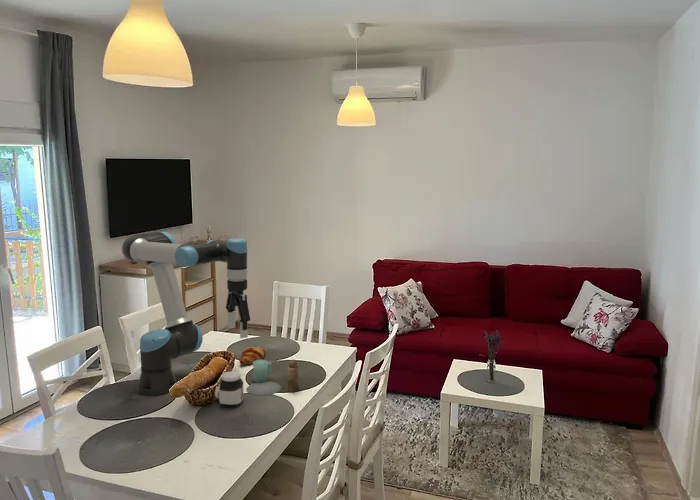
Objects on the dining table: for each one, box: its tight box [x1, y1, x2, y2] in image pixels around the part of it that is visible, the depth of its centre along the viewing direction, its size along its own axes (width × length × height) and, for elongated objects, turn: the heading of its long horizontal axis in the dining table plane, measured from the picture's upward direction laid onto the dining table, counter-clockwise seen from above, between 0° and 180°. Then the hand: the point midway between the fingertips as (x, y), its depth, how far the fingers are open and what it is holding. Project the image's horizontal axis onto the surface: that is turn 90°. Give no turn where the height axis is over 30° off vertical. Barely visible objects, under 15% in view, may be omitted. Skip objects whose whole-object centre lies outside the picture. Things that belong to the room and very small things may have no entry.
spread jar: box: [214, 371, 244, 408], centre depth 208 cm, size 12×11×12 cm
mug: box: [252, 359, 273, 383], centre depth 231 cm, size 8×6×8 cm
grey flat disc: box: [245, 381, 282, 397], centre depth 222 cm, size 14×14×1 cm
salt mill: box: [287, 359, 300, 393], centre depth 220 cm, size 4×4×13 cm
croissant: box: [238, 346, 267, 366], centre depth 255 cm, size 21×10×8 cm, turn 160°
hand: (237, 332), depth 211 cm, fingers open, 13 cm apart
